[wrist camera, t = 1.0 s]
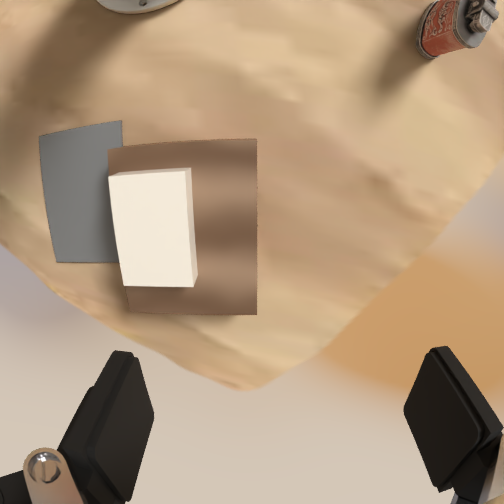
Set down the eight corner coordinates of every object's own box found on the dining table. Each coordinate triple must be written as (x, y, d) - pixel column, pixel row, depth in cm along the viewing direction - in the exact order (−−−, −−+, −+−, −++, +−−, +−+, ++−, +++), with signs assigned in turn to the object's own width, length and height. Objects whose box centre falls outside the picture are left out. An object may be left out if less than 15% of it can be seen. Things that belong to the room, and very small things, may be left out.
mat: (40, 136, 25) (38, 136, 25) (121, 120, 25) (120, 120, 25) (57, 260, 30) (56, 261, 30) (134, 261, 30) (133, 262, 30)
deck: (125, 146, 26) (107, 149, 22) (256, 138, 26) (256, 139, 22) (142, 291, 32) (130, 311, 28) (256, 293, 32) (256, 314, 28)
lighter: (435, 66, 23) (499, 52, 13) (409, 46, 22) (468, 22, 13) (454, 15, 20) (511, -7, 10) (430, -4, 19) (483, -34, 10)
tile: (119, 172, 23) (108, 176, 21) (191, 167, 23) (185, 171, 21) (132, 274, 26) (123, 285, 24) (197, 274, 26) (193, 287, 24)
